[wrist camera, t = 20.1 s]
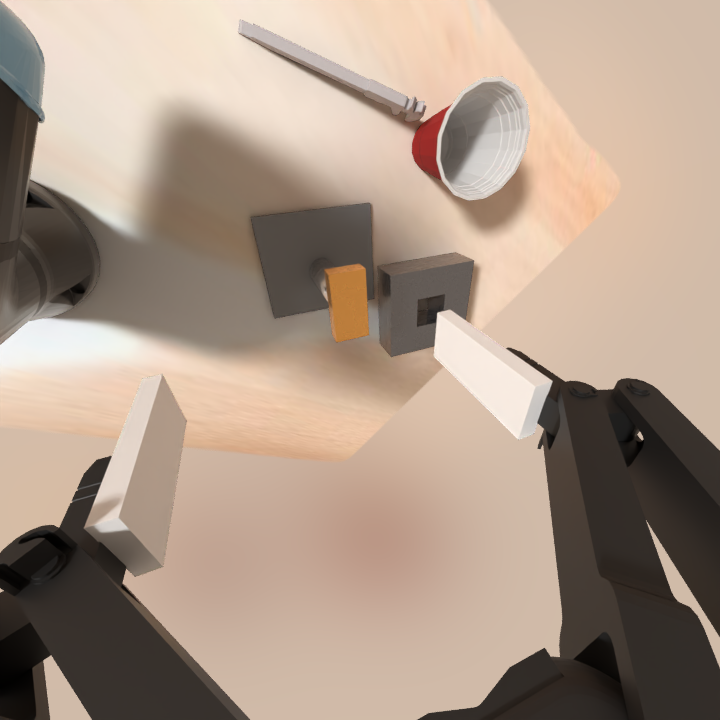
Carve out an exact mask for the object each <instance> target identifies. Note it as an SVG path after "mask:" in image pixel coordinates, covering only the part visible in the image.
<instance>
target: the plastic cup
mask: <svg viewBox="0 0 720 720" xmlns="http://www.w3.org/2000/svg"><path fill="white" fill-rule="evenodd" d="M529 131H530V121H529V111H528V104H527V102H526V100H525V98H524V96H523V94H522V92H521V91H520V89H519V87H518V86H517V85H515V84H514V83H512V82H511V81H509V80H507V79H506V78H504V77H502V76H501V77H485V78H481V79H480V80H478V81H476V82H475V83H473V84H472V85H470V86H469V87H467V88H465V89H464V90H463V91H462V92H461V93H460V94H459V96H458V97H457V98H456V100H455V101H454V102H453V103H452V105H450V106H448V107H447V108H445V109H443V110H442V111H440V112H439V113H437V114H436V115H434V116H432V117H431V118H430V119H428V120H427V121H425V122H424V123H422V125H421V126H420V127H419V129H418V130H417V131H416V133H415V136H414V139H413V142H412V154H413V157H414V160H415V162H416V163H417V165H418V166H419V167H420V168H421V169H422V170H424V171H426V172H428V173H429V174H431V175H432V176H434V177H436V178H438V179H440V180H442V181H443V182H444V183H445V185H446V186H447V187H448V188H449V190H450V191H451V192H452V193H453V194H454V195H456V196H458V197H461V198H463V199H466V200H468V201H469V200H477V199H484V198H487V197H488V196H490V195H492V194H493V193H495V192H497V191H498V190H500V189H501V188H502V187H503V186H504V185H505V184H506V183H507V181H508V180H509V179H510V178H511V177H512V176H513V175H514V173H515V172H516V170H517V168H518V166H519V164H520V162H521V160H522V158H523V155H524V153H525V151H526V146H527V141H528V136H529Z"/></svg>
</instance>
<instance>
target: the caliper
mask: <svg viewBox="0 0 720 720" xmlns="http://www.w3.org/2000/svg"><path fill="white" fill-rule="evenodd" d="M238 33H239V34H241V35H243V36H245V37H248V38H250V39H252V40H253V41H254V42H256V43H258V44H260V45H262V46H264V47H266V48H268V49H270V50H272V51H274V52H276V53H278V54H280V55H283V56H285V57H287V58H289V59H291V60H293V61H296V62H298V63H300V64H302V65H304V66H306V67H308V68H311V69H313V70H315V71H317V72H319V73H321V74H323V75H325V76H328V77H330V78H332V79H334V80H336V81H338V82H340V83H343V84H345V85H347V86H349V87H351V88H353V89H355V90H357V91H360V92H362V93H364V94H365V95H364V96H366V97H368V98H371V99H373V100H375V101H376V102H379V103H382V104H385V105H388V106H390V107H391V110H392V114H393V115H395V116H396V115H398V114H399V113H400V112H401V111H402V112H405V113H407V114H406V117H405V121H408V122H410V121H416V120H419V119H421V118H422V117H423V115H424V112H425V109H426V106H425V105H424V103H425V101H418V102H416V101H417V100H416V97H413V98H412V99H408V97H407V96H405V95H403V94H401V93H399V92H397V91H395V90H393V89H391V88H389V87H387V86H384V85H382V84H380V83H378V82H376V81H374V80H372V79H370V80H369V79H367V78H365V77H363V76H361V75H359V74H357V73H355V72H353V71H350V70H348V69H346V68H344V67H342V66H340V65H338V64H336V63H334V62H332V61H330V60H328V59H326V58H324V57H322V56H320V55H317V54H315V53H313V52H311V51H309V50H307V49H305V48H303V47H301V46H299V45H297V44H295V43H293V42H291V41H289V40H286V39H284V38H282V37H280V36H278V35H276V34H274V33H272V32H270V31H268V30H266V29H264V28H262V27H260V26H257V25H255V24H253V25H252V24H250V23H247V22H245V21H243V20H239V29H238Z"/></svg>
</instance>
